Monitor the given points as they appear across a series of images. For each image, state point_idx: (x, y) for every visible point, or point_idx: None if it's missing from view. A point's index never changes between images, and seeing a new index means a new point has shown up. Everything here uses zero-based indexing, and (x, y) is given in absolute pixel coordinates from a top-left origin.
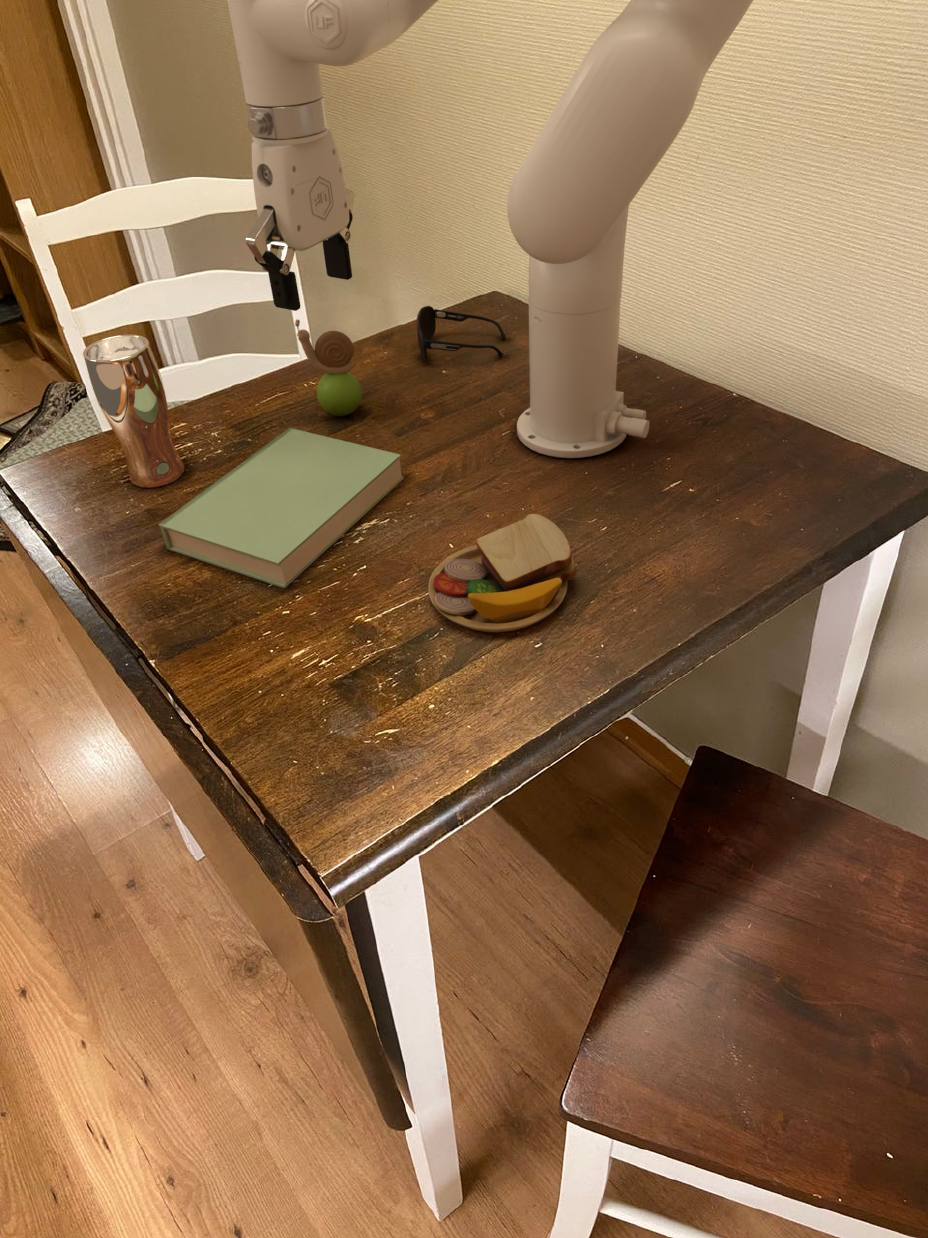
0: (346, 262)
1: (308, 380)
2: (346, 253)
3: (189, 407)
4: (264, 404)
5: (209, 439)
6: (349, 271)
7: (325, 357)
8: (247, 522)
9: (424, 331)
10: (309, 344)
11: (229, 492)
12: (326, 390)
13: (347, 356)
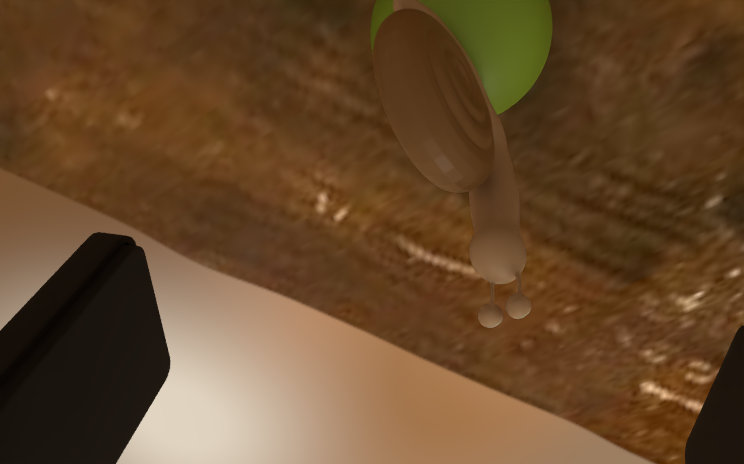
0: (68, 316)
1: (312, 220)
2: (13, 363)
3: (558, 408)
4: None
5: (725, 301)
6: (93, 261)
7: (488, 115)
8: None
9: None
10: (500, 207)
11: None
12: (539, 54)
13: (434, 24)
